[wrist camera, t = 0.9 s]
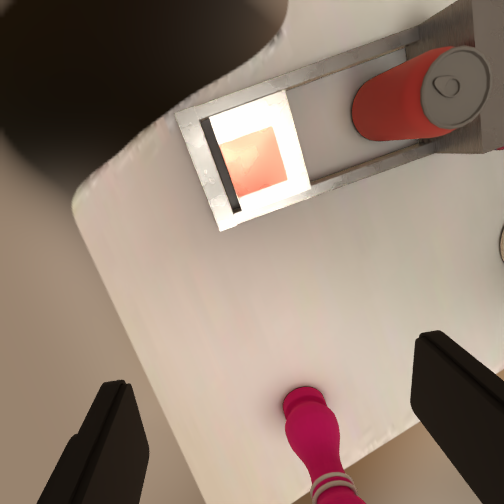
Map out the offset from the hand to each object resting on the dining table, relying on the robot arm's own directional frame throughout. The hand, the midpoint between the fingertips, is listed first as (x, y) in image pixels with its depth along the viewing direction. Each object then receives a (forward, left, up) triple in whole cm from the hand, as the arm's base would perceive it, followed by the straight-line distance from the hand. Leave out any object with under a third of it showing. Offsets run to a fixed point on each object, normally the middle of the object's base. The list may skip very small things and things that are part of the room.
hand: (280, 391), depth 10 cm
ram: (-5, -6, -27) cm, 28 cm away
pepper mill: (0, +30, -28) cm, 41 cm away
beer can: (-19, -6, -28) cm, 34 cm away
